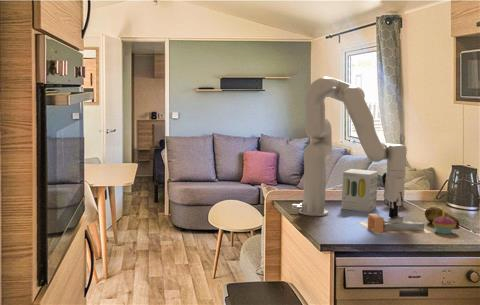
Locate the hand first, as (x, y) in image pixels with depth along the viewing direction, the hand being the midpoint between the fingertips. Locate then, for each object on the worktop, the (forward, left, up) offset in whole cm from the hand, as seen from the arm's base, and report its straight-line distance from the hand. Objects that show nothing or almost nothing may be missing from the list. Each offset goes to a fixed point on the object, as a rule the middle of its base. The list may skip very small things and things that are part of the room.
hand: (393, 217), depth 227 cm
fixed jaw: (-4, -17, -1) cm, 17 cm away
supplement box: (-4, +28, -2) cm, 28 cm away
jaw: (-5, -10, -1) cm, 11 cm away
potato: (+16, -10, -2) cm, 19 cm away
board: (-6, -13, -2) cm, 14 cm away
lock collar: (-15, -17, -1) cm, 22 cm away
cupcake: (+11, -21, -2) cm, 24 cm away
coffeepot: (+17, +38, -2) cm, 42 cm away
